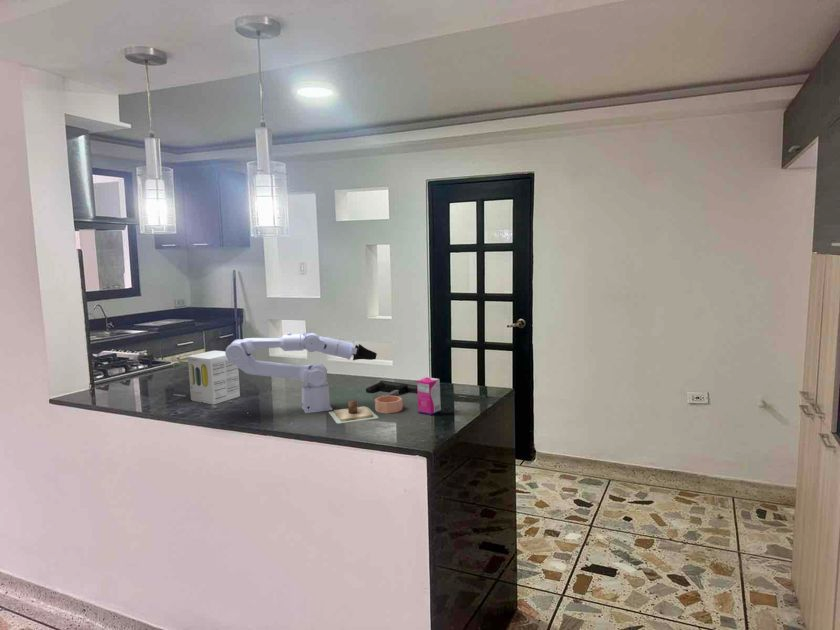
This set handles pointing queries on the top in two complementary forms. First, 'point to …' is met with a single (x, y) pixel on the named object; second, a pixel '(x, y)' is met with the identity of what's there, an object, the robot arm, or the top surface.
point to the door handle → (392, 388)
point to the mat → (351, 420)
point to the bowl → (388, 404)
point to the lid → (353, 412)
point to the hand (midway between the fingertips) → (374, 356)
